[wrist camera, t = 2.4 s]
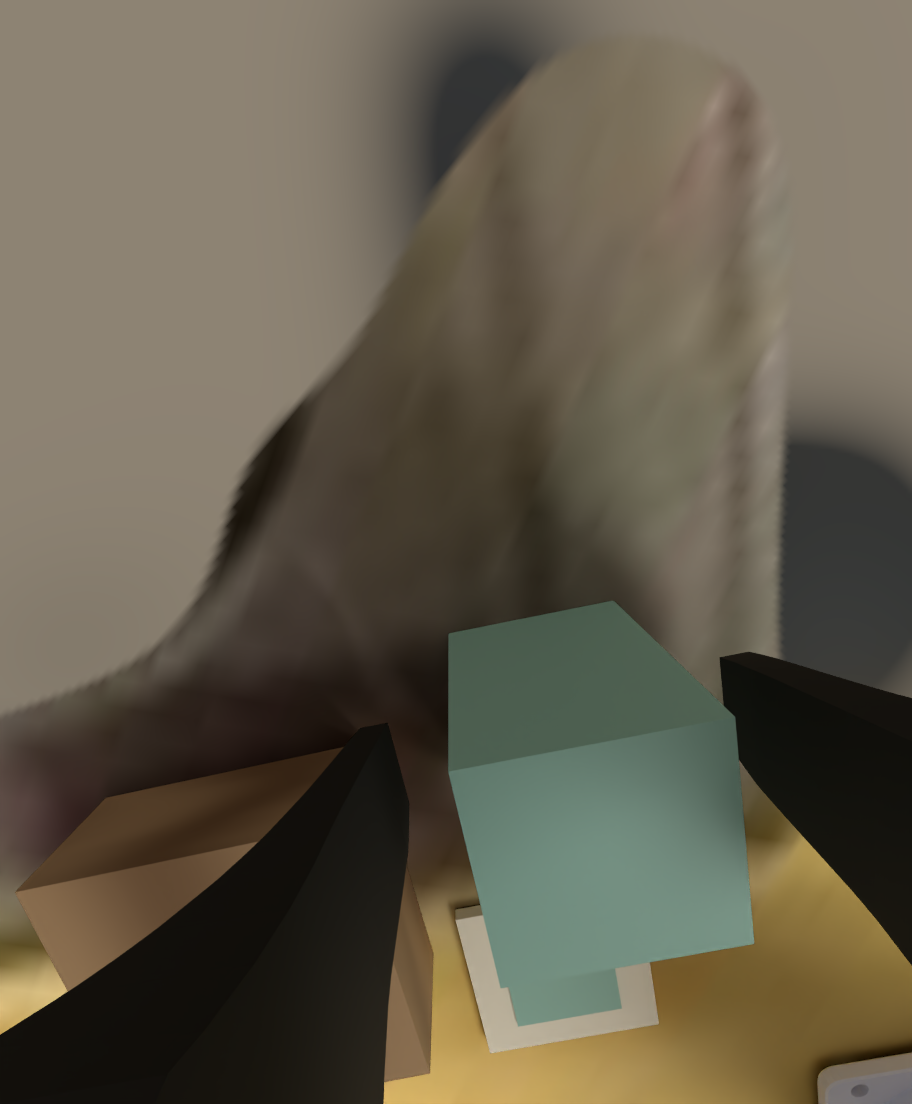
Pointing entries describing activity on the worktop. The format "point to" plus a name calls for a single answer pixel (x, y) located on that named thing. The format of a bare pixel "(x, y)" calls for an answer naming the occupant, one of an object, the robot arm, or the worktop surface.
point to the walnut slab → (199, 882)
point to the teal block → (594, 796)
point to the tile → (552, 997)
